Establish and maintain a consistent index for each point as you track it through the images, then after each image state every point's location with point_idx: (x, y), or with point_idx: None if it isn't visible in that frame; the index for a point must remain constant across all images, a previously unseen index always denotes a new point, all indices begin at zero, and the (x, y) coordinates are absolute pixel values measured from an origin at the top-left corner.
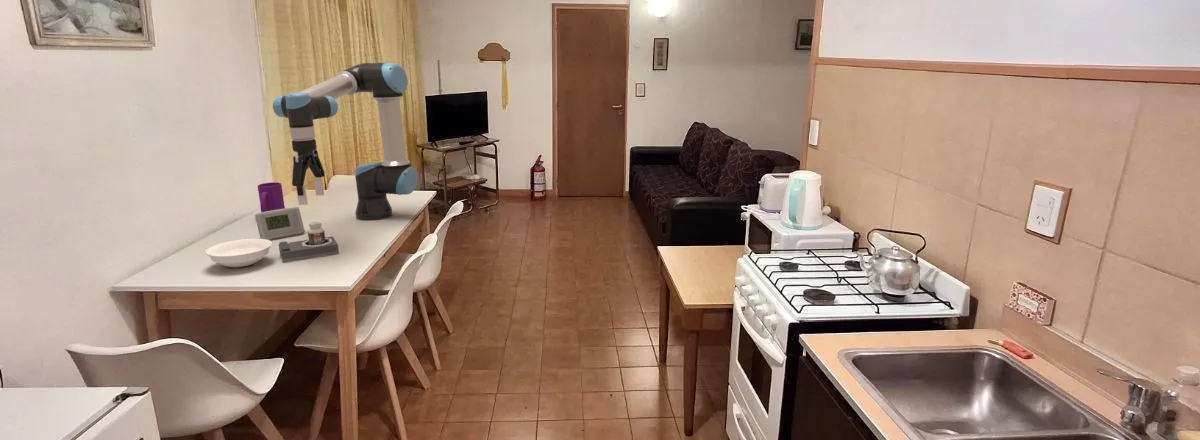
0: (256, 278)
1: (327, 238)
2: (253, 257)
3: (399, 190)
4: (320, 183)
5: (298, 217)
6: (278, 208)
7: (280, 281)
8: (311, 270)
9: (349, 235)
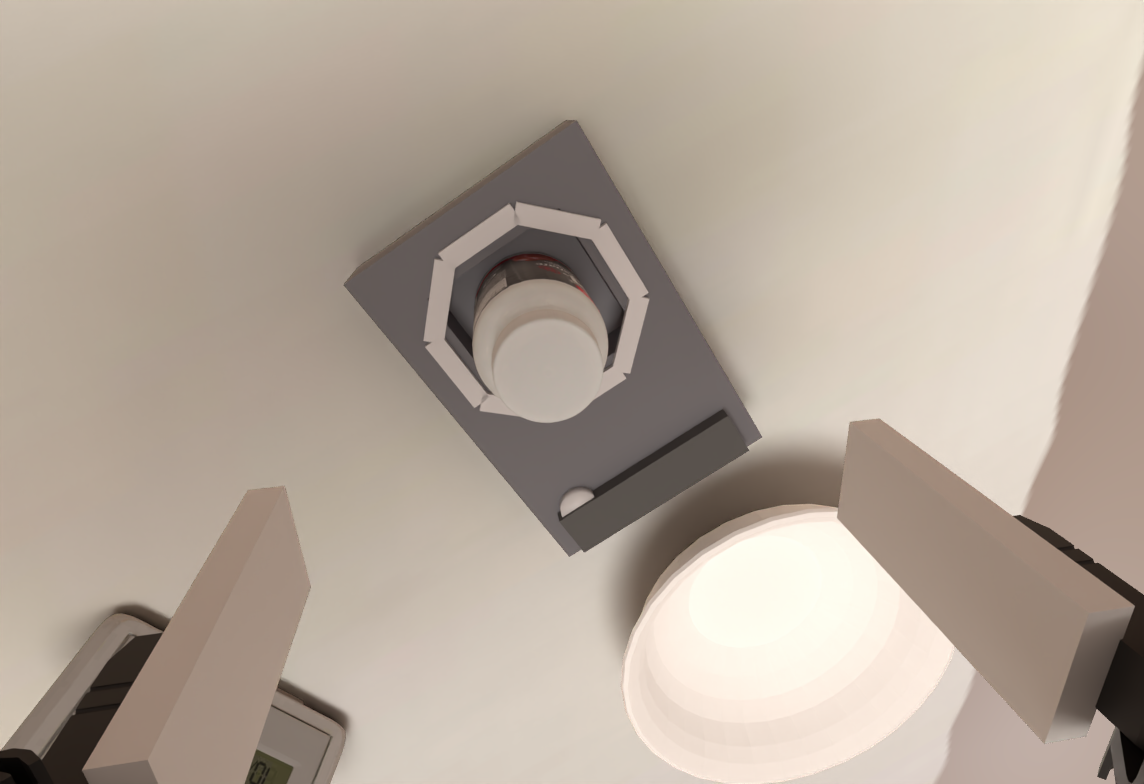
0: (986, 398)
1: (434, 285)
2: None
3: None
4: (216, 657)
5: (55, 730)
6: None
7: (1070, 241)
8: (914, 148)
9: (58, 269)
